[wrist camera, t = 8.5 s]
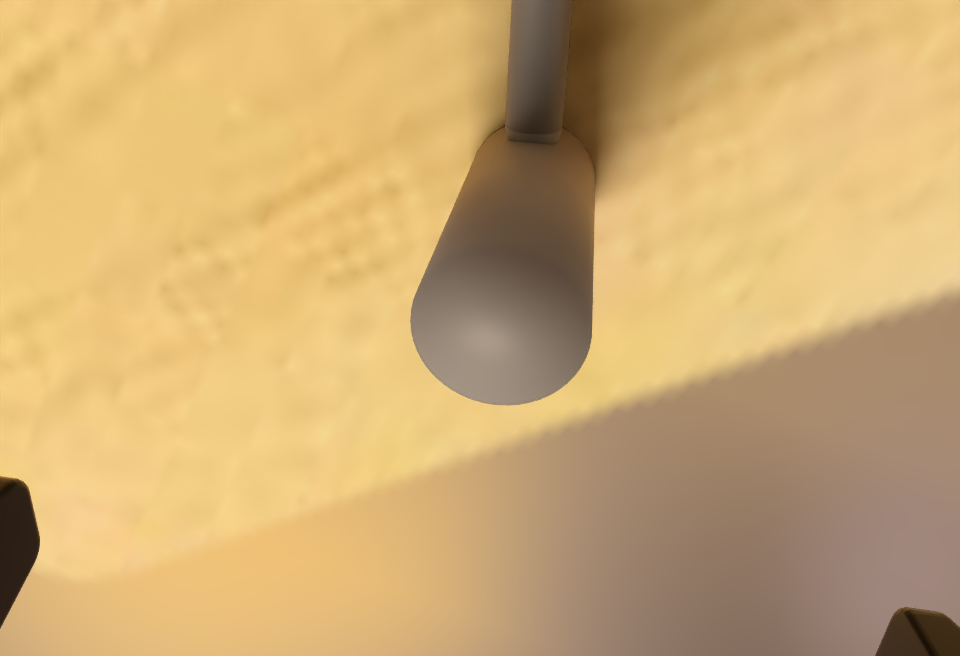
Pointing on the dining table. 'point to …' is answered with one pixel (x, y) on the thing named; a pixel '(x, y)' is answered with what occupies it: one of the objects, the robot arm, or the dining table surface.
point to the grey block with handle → (516, 238)
